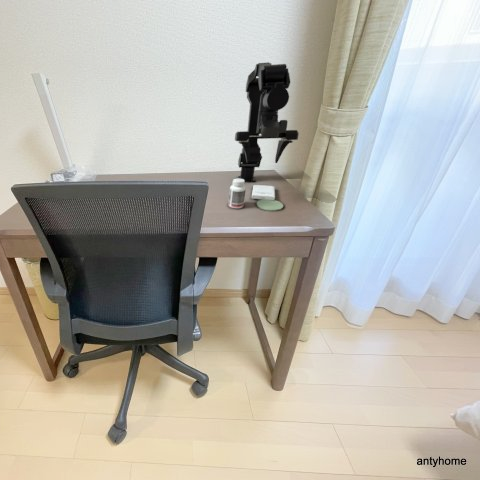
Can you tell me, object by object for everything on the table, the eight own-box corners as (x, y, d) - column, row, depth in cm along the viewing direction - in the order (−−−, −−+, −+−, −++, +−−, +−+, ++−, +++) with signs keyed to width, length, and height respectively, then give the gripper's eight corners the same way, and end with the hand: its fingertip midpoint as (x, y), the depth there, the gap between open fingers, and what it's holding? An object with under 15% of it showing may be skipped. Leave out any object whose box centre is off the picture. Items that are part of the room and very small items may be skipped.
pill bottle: (246, 206, 94) (250, 180, 88) (236, 210, 91) (239, 184, 86) (235, 201, 97) (238, 176, 92) (225, 205, 95) (227, 180, 90)
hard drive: (273, 190, 105) (274, 200, 95) (252, 188, 108) (251, 198, 98) (274, 186, 104) (275, 196, 94) (253, 184, 107) (251, 194, 97)
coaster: (254, 200, 97) (254, 199, 97) (278, 200, 96) (279, 199, 96) (259, 211, 90) (259, 209, 89) (286, 210, 89) (286, 209, 89)
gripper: (240, 112, 75) (236, 166, 81) (309, 109, 72) (298, 166, 78) (236, 113, 85) (232, 162, 91) (296, 111, 82) (288, 161, 88)
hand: (261, 163), depth 87 cm, fingers open, 9 cm apart
